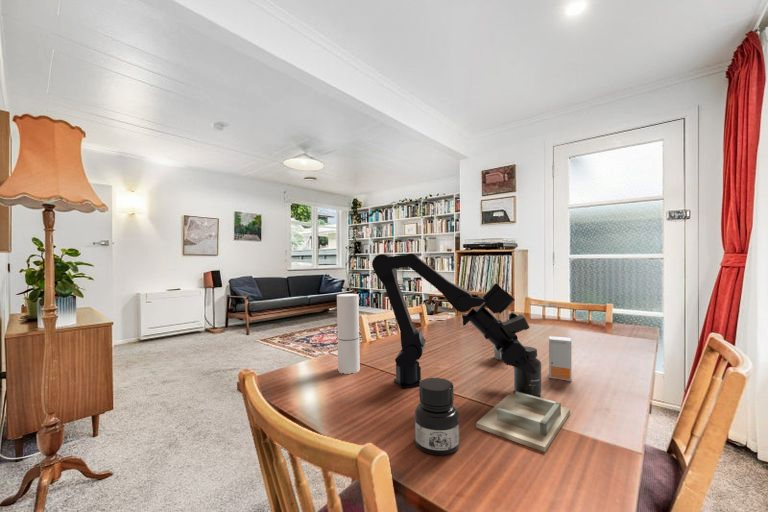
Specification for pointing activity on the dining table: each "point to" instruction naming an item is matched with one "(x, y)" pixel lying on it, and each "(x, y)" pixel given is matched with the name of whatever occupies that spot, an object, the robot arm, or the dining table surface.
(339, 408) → the dining table surface
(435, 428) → the ink bottle
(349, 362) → the cylindrical container
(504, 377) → the dining table surface
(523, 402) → the cradle board
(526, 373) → the supplement bottle
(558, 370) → the skincare box
